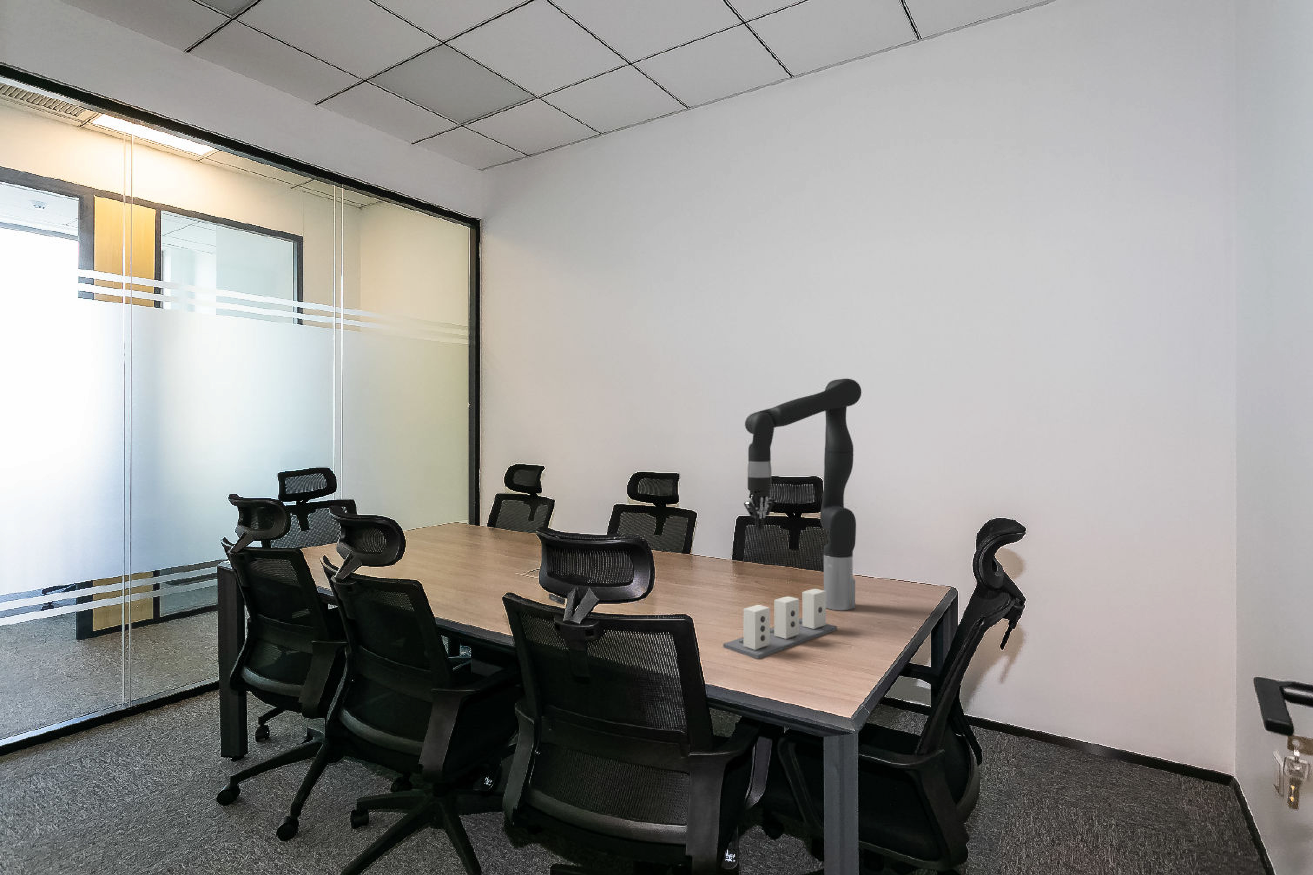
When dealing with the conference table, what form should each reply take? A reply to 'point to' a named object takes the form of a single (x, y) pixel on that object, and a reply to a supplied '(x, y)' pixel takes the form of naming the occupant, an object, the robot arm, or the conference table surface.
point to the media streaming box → (557, 599)
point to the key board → (779, 641)
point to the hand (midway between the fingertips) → (759, 529)
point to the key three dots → (756, 626)
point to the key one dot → (814, 608)
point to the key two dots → (786, 617)
